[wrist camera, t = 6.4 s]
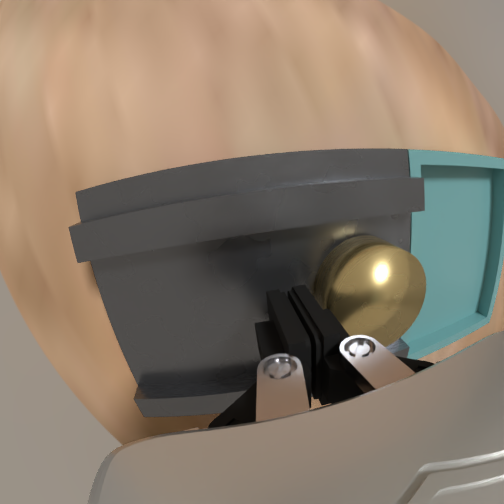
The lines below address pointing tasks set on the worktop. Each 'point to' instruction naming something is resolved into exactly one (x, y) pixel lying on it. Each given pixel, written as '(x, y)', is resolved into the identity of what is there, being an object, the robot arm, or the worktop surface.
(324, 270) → the brass puck
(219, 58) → the worktop surface
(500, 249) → the tray
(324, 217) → the slot plate
